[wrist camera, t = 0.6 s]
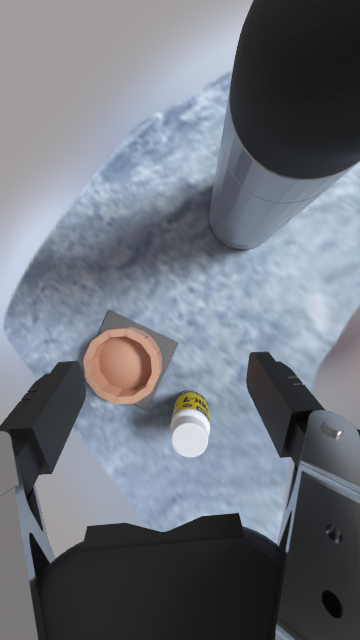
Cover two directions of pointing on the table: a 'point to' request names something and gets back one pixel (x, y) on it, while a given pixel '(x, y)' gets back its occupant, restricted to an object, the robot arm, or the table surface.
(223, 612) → the robot arm
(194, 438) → the supplement bottle
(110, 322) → the mat
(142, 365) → the bowl
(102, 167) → the table surface
